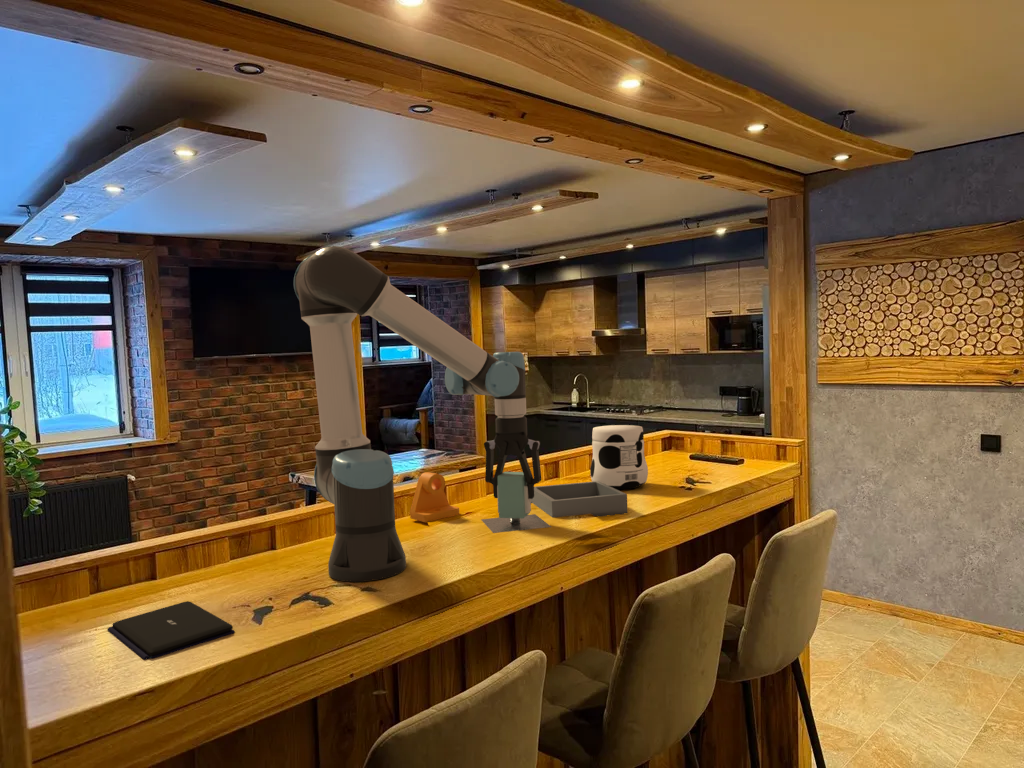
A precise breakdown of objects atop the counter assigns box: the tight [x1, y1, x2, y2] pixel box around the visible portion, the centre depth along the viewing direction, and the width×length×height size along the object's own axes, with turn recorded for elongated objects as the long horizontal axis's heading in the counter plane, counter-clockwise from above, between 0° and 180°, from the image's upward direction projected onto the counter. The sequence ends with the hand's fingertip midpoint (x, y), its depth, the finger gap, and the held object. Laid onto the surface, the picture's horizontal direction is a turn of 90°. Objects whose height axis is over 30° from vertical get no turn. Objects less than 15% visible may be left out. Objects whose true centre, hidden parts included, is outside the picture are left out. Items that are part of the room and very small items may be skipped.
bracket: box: [409, 471, 460, 523], centre depth 183 cm, size 11×7×12 cm, turn 130°
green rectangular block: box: [497, 471, 531, 519], centre depth 171 cm, size 6×6×10 cm
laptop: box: [107, 600, 236, 661], centre depth 114 cm, size 16×20×2 cm
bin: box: [531, 481, 629, 518], centre depth 188 cm, size 20×20×5 cm
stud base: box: [480, 513, 552, 534], centre depth 172 cm, size 14×14×6 cm
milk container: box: [589, 424, 649, 490], centre depth 217 cm, size 17×17×18 cm
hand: (514, 511), depth 172 cm, fingers closed on green rectangular block, 6 cm apart
